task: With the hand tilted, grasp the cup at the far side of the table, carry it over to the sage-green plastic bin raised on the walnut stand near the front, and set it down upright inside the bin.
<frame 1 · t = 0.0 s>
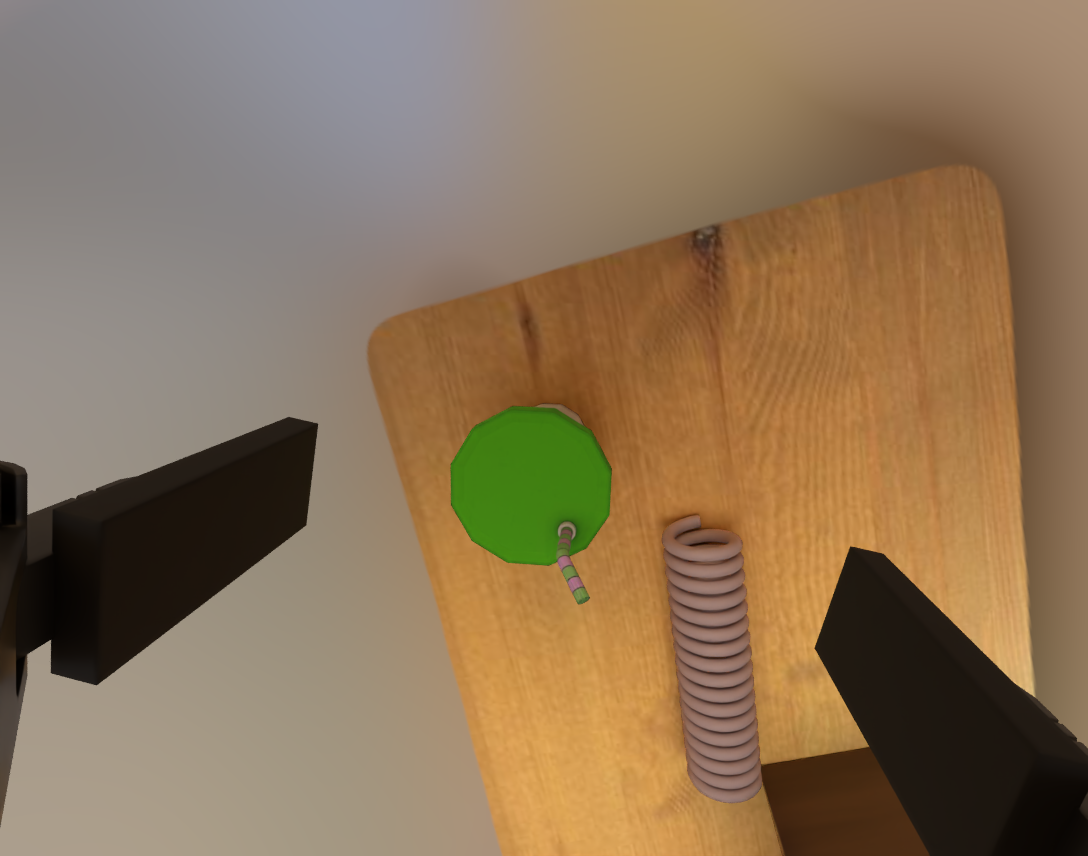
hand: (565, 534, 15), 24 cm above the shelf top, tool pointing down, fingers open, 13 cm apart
stand: (865, 824, 42), on the shelf top
coil: (707, 639, 41), on the shelf top
cup: (551, 437, 39), on the shelf top
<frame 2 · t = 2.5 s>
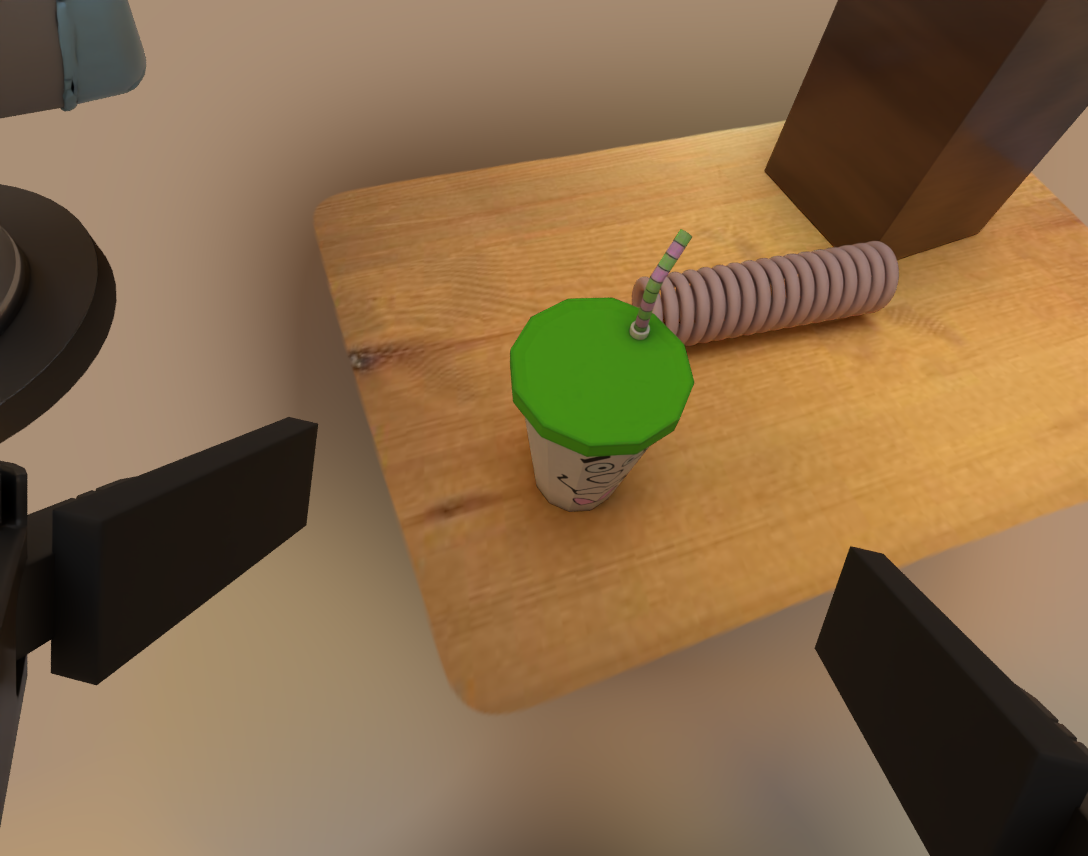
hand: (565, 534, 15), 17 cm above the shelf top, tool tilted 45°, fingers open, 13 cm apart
stand: (868, 201, 49), on the shelf top
coil: (749, 321, 42), on the shelf top
cup: (574, 476, 35), on the shelf top
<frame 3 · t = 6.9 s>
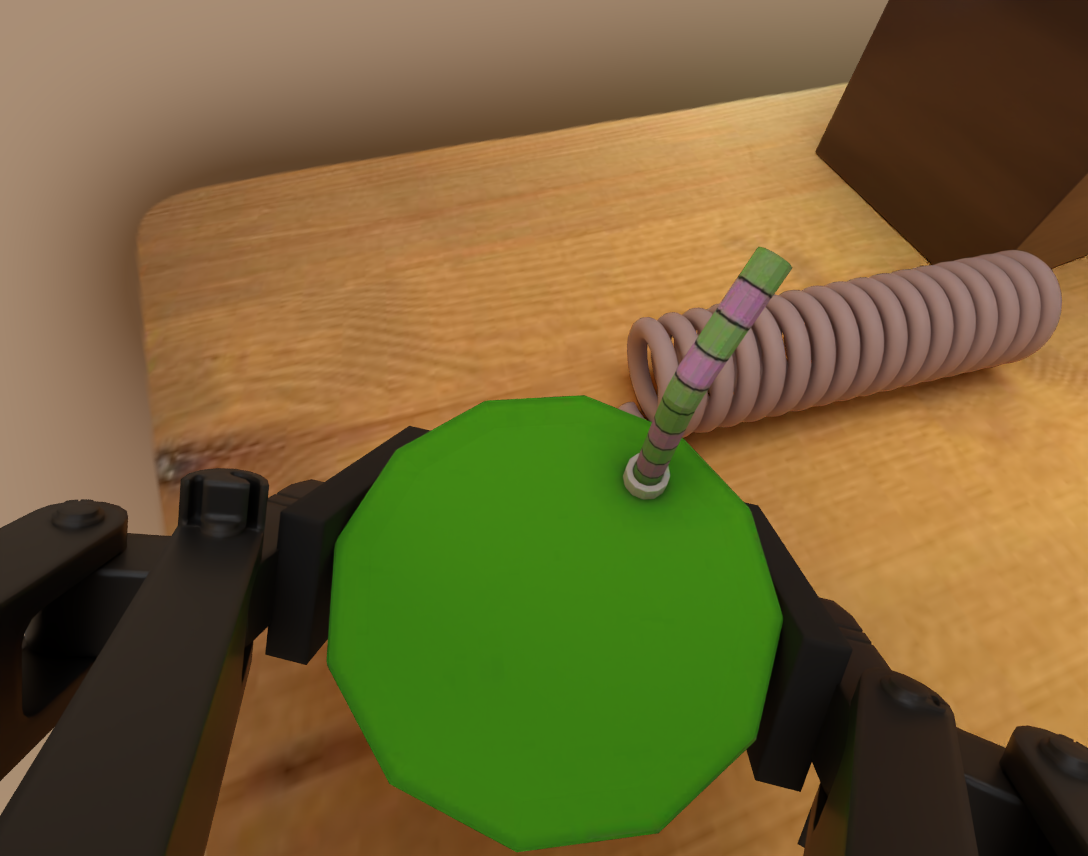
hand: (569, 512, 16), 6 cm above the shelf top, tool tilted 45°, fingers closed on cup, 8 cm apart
stand: (968, 193, 34), on the shelf top
coil: (811, 379, 27), on the shelf top
cup: (530, 681, 20), on the shelf top, touching gripper
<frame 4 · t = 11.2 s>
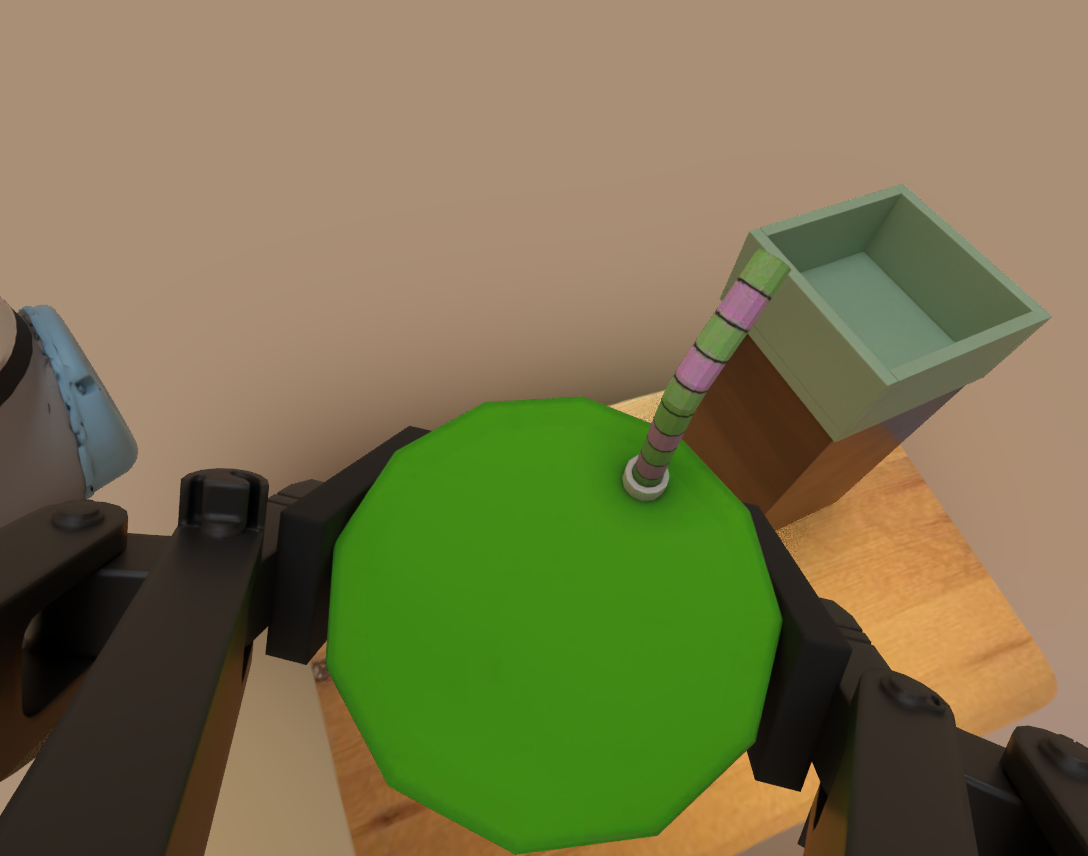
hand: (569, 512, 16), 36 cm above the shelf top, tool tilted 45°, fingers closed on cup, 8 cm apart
stand: (747, 472, 59), on the shelf top
bin: (847, 337, 42), resting on stand
cup: (530, 682, 20), point 30 cm above the shelf top, touching gripper
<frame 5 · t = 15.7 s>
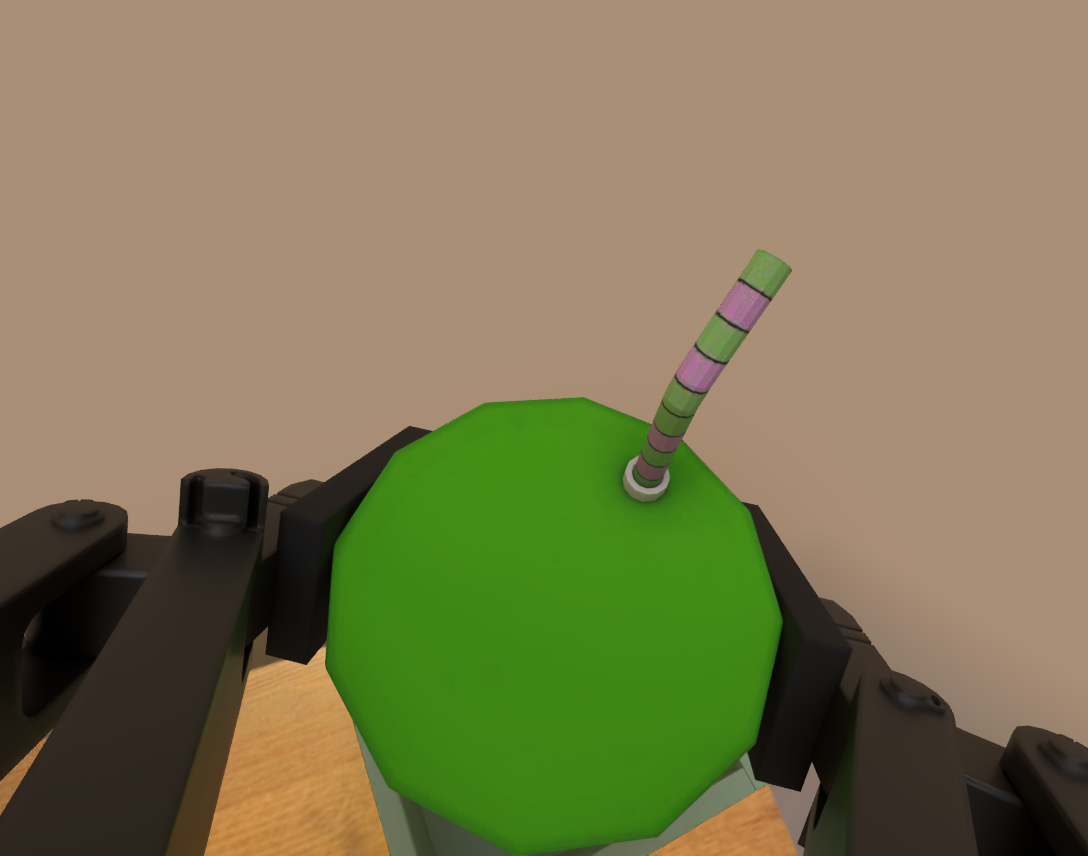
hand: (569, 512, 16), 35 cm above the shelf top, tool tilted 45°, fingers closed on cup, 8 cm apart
bin: (527, 704, 28), resting on stand
cup: (530, 683, 20), point 29 cm above the shelf top, touching gripper
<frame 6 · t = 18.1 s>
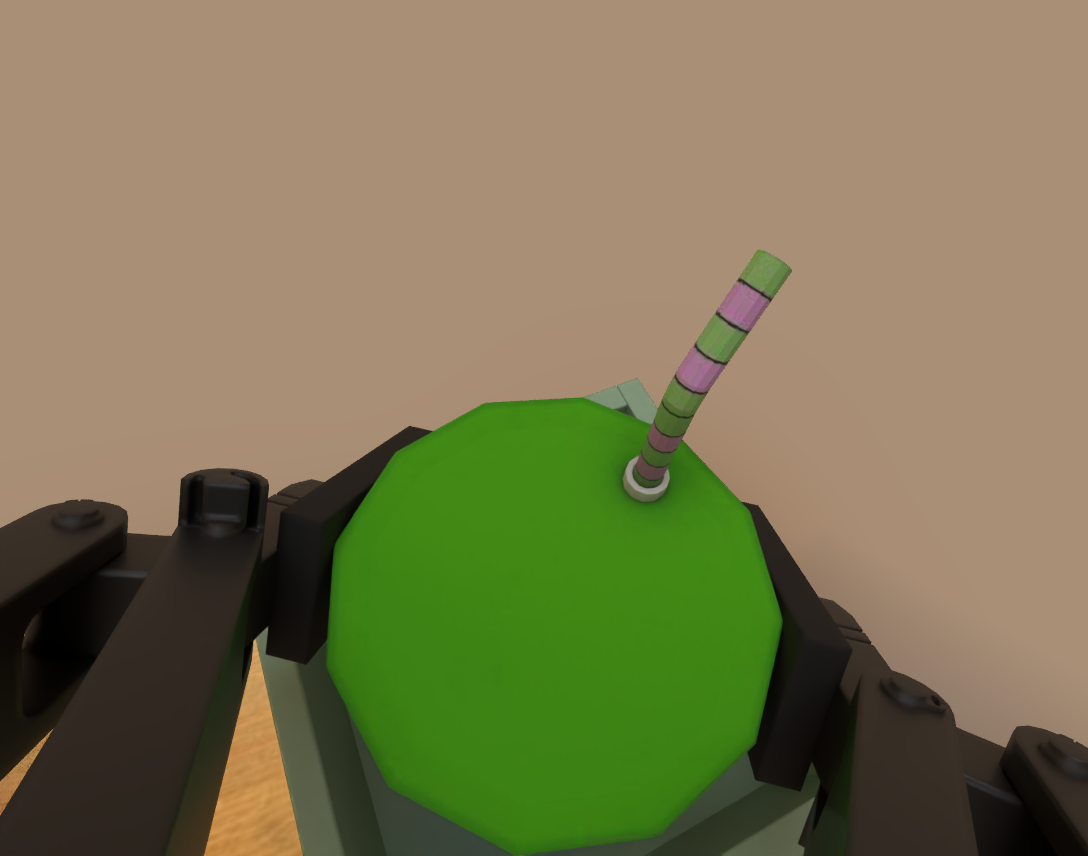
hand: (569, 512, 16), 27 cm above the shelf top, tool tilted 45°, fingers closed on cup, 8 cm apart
bin: (531, 685, 20), resting on stand
cup: (530, 683, 20), point 21 cm above the shelf top, touching gripper
when the fingers open (28 cm above the shelf top, at t = 24.8 s): cup drops 1 cm, resting on bin.
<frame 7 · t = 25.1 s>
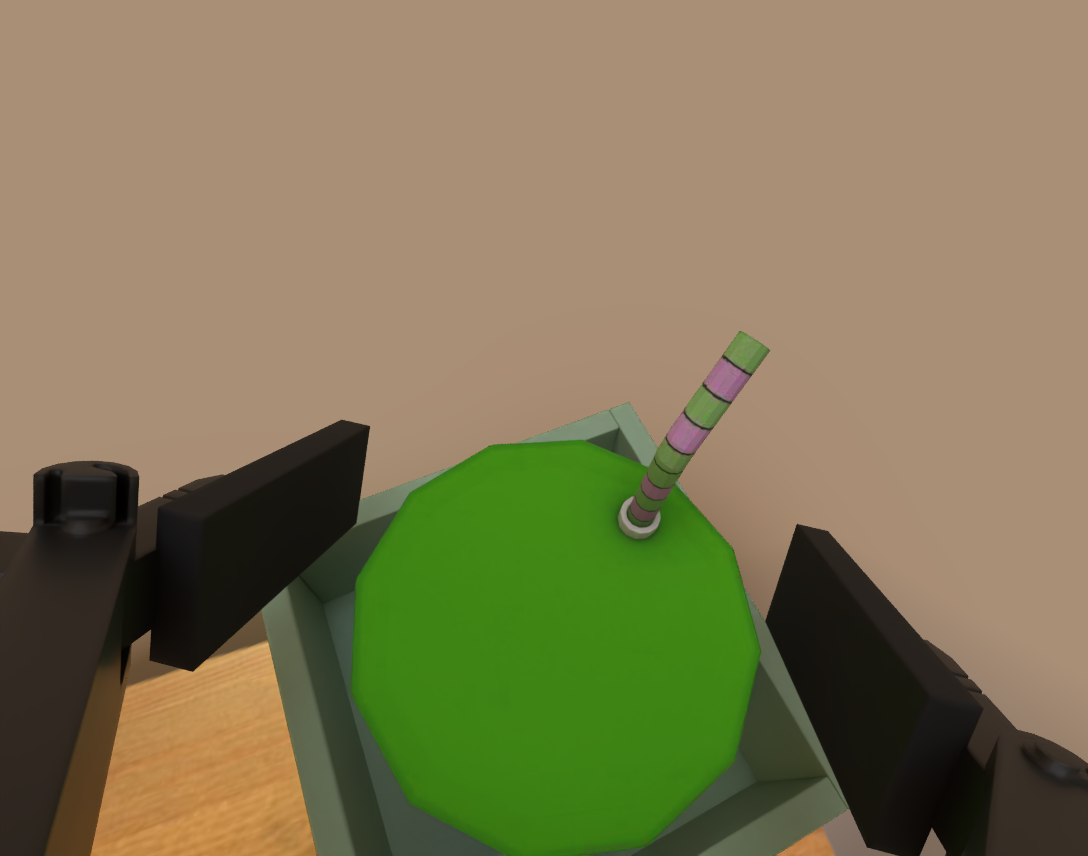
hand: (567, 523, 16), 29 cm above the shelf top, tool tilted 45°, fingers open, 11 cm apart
bin: (527, 692, 22), resting on stand
cup: (528, 692, 21), point 21 cm above the shelf top, touching bin
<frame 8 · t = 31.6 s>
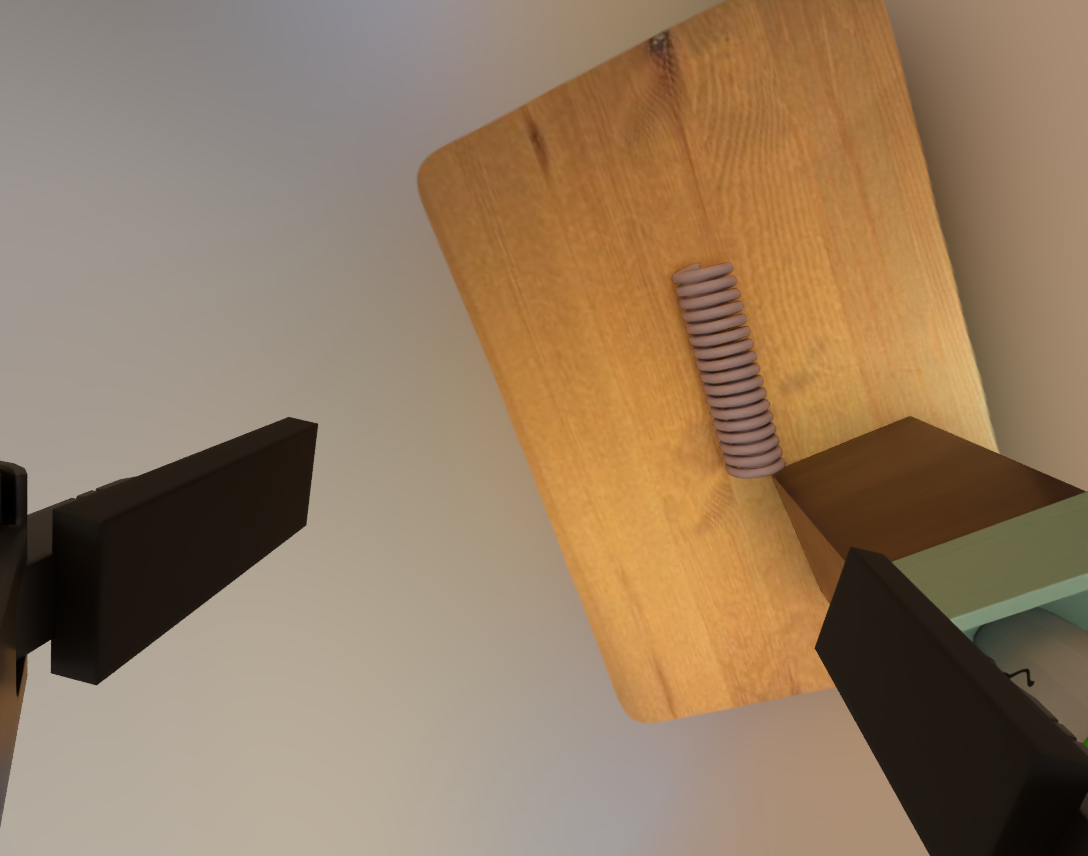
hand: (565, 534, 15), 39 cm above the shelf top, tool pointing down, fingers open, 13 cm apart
stand: (864, 506, 53), on the shelf top
bin: (1009, 633, 33), resting on stand
coil: (724, 368, 52), on the shelf top
cup: (1016, 641, 33), point 21 cm above the shelf top, touching bin
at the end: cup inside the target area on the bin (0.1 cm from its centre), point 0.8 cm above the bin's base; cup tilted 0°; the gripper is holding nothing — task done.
